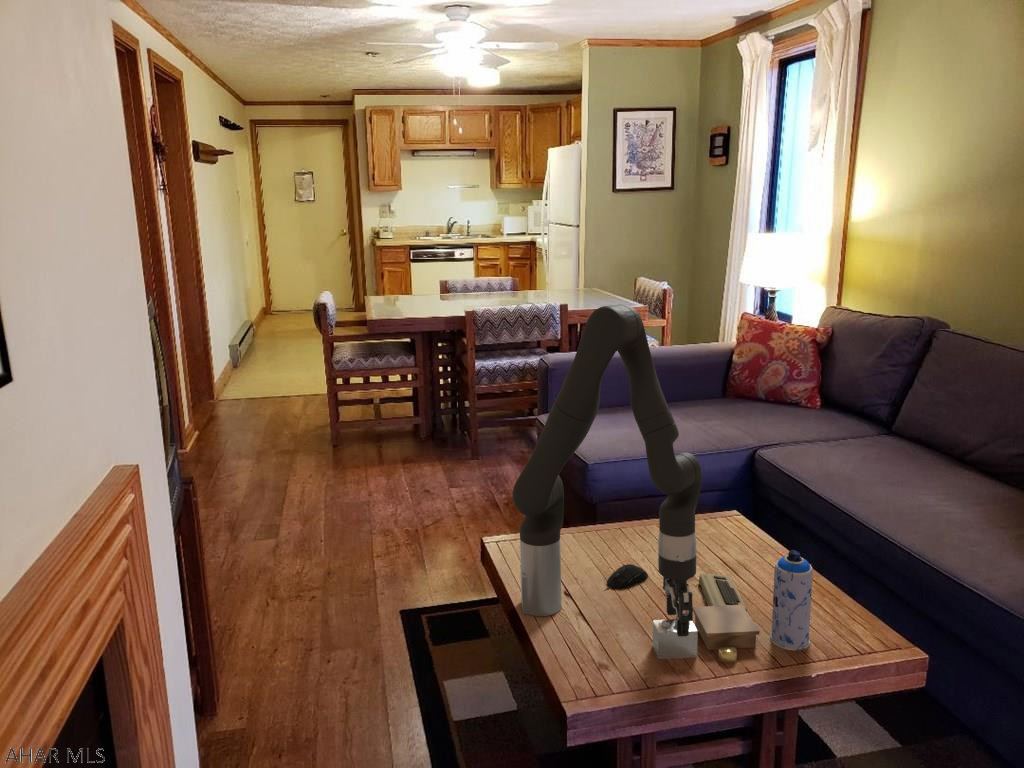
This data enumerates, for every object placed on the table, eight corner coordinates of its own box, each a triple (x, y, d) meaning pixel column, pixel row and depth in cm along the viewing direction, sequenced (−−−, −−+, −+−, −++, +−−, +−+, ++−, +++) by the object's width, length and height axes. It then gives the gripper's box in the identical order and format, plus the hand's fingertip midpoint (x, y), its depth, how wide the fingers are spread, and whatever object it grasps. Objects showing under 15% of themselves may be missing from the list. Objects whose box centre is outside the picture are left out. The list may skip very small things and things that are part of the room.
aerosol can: (768, 628, 168) (772, 543, 164) (806, 632, 167) (811, 545, 162) (772, 648, 161) (776, 559, 156) (812, 652, 159) (817, 561, 155)
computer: (747, 617, 174) (748, 604, 173) (711, 617, 174) (711, 604, 174) (732, 584, 189) (732, 572, 189) (698, 585, 190) (698, 572, 189)
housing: (658, 659, 158) (658, 628, 157) (652, 646, 163) (653, 615, 162) (697, 657, 159) (697, 626, 157) (690, 644, 163) (691, 614, 162)
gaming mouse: (592, 588, 189) (592, 573, 189) (634, 570, 198) (634, 555, 198) (611, 597, 185) (611, 582, 184) (653, 578, 194) (653, 563, 193)
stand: (706, 651, 161) (706, 633, 160) (692, 623, 171) (692, 607, 170) (758, 648, 161) (759, 630, 160) (741, 621, 172) (742, 604, 171)
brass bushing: (721, 664, 156) (721, 655, 156) (716, 654, 160) (716, 645, 159) (739, 663, 156) (739, 654, 156) (733, 653, 160) (733, 644, 159)
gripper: (650, 538, 163) (651, 608, 166) (667, 567, 149) (667, 644, 152) (686, 535, 163) (686, 606, 167) (705, 565, 149) (705, 641, 153)
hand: (677, 624), depth 160 cm, fingers open, 8 cm apart
